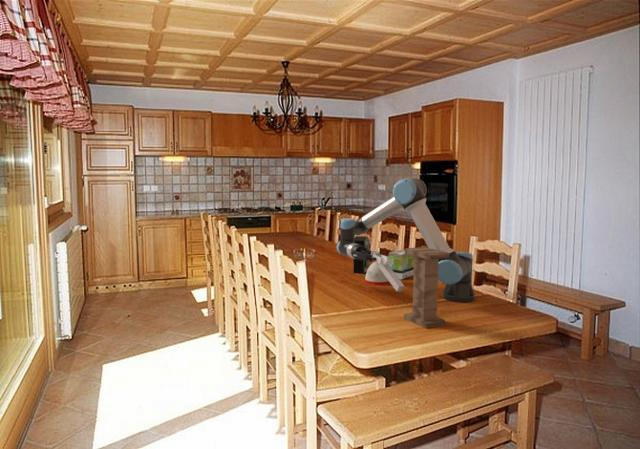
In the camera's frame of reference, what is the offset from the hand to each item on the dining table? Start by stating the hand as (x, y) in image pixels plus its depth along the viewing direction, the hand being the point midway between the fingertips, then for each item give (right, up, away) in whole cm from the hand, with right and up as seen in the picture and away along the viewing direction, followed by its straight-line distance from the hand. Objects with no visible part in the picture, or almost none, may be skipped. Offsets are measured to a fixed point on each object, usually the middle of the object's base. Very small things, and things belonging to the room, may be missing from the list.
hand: (384, 260), depth 225 cm
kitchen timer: (+2, -16, +45) cm, 48 cm away
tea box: (+18, -14, +60) cm, 64 cm away
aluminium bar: (0, -6, 0) cm, 6 cm away
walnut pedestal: (+14, -24, -23) cm, 36 cm away
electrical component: (-5, -12, +74) cm, 76 cm away
